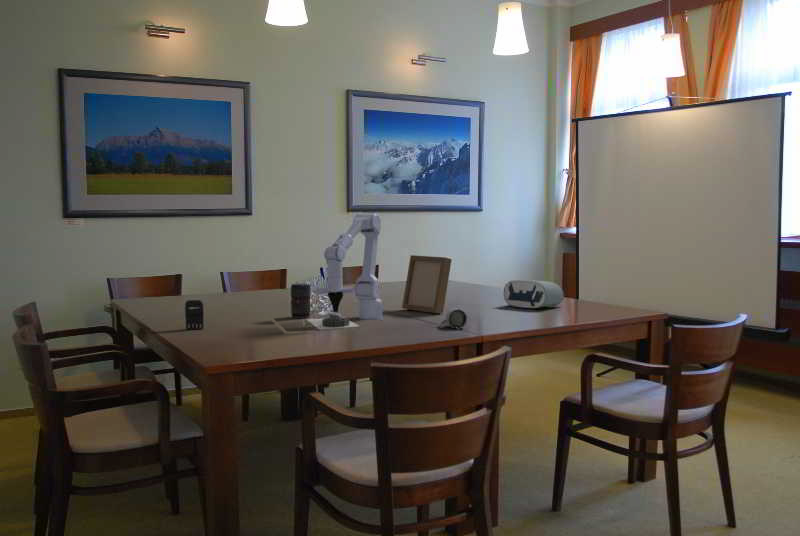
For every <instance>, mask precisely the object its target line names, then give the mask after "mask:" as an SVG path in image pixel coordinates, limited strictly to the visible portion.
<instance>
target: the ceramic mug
mask: <svg viewBox="0 0 800 536" xmlns="http://www.w3.org/2000/svg"><path fill="white" fill-rule="evenodd" d="M467 323H468V315H467V313H466V311H464V310H463V309H462V308H459V307H458V308H457V307H455V308H454V307H453V308H451V309H448V311H447V313H446V315H445V319H444V320H442V321H440V322H439V323H438V327H439V328H440V329H442V328H443V329H444V328H445V327H447V326H449V327H451V328H452V329H454V328H456V327H457V328H458V329H457V330H460V328H461V329H463V328H464V327H465V326H466V325H467Z"/></svg>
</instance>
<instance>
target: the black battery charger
mask: <svg viewBox="0 0 800 536" xmlns="http://www.w3.org/2000/svg"><path fill="white" fill-rule="evenodd" d="M204 306H205V305H204V301H203V300H202V299H186V300H185V302H184V316H185V329H186V330H188V329H195V330H203V329H204V328H205V323H204V319H205V318H204V317H205V316H204V315H205V313H204V312H205V311H204V309H205V307H204Z"/></svg>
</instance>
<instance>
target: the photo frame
mask: <svg viewBox="0 0 800 536" xmlns="http://www.w3.org/2000/svg"><path fill="white" fill-rule="evenodd" d="M452 261H453V260H452V258H448V257H444V256H431V255H428V256H427V255H413V254H411V255H410V257H409V265H408V269H407V276H406V280H405V281H406V282H405V287H404V293H403V300H402V306H401V308H402V309H404V310H409V309H410V310H411V311H416V310H417V312H423V311H424V313H430V312H431V313H430V314H437V313H438V314H437V315H440V314H439V313H443V314H444V308H445V304H446V302H445V301H446V296H447V292H448V291H447V289H448V285H449V278H450V271H451V265H452Z"/></svg>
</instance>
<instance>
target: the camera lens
mask: <svg viewBox="0 0 800 536" xmlns="http://www.w3.org/2000/svg"><path fill="white" fill-rule="evenodd" d="M290 297H291V300H290V306H291V307H290V313H291V317H292V319H295V320H301V319H302V320H304V319H310V317H311V284H309V283H291V286H290Z"/></svg>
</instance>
